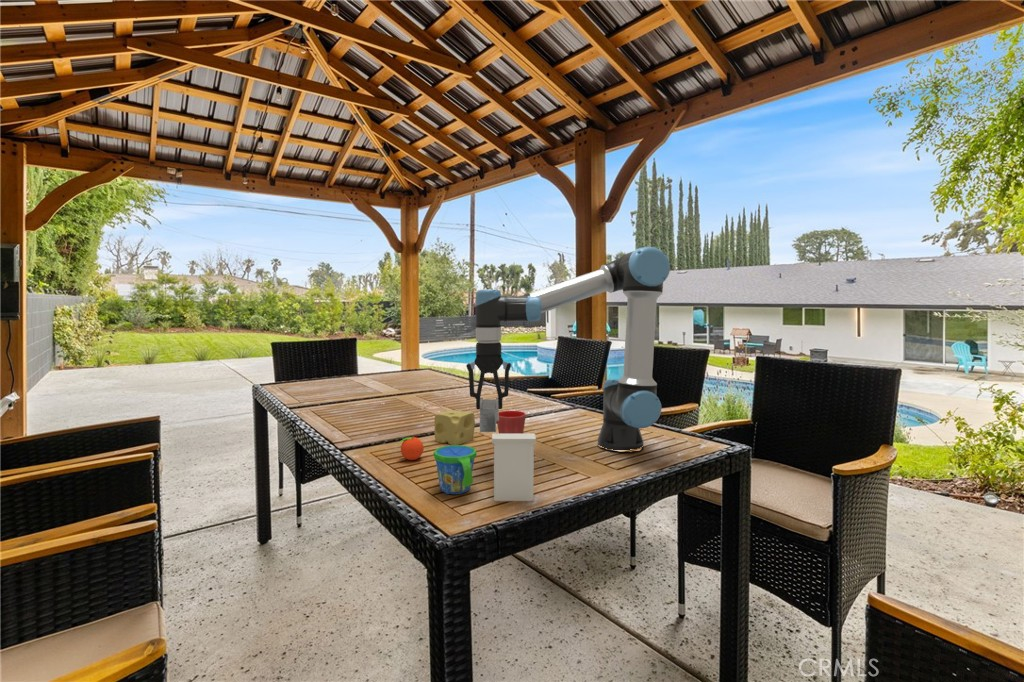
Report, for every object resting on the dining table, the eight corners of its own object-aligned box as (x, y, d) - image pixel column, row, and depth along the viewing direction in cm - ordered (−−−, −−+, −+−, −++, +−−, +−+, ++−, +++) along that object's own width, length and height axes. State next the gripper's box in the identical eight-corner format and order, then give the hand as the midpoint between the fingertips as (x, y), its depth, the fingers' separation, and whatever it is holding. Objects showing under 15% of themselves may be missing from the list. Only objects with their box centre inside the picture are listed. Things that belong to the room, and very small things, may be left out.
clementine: (398, 464, 138) (398, 441, 138) (395, 458, 145) (395, 435, 144) (425, 461, 141) (425, 438, 141) (421, 455, 148) (421, 433, 147)
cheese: (456, 446, 158) (456, 417, 157) (432, 441, 164) (432, 413, 163) (475, 439, 167) (475, 412, 166) (452, 435, 173) (452, 408, 172)
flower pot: (492, 444, 161) (492, 416, 160) (499, 435, 172) (499, 409, 171) (523, 445, 159) (523, 417, 159) (527, 437, 170) (527, 410, 170)
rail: (497, 418, 143) (496, 399, 142) (496, 431, 127) (495, 410, 127) (482, 418, 143) (482, 399, 142) (479, 432, 127) (479, 410, 126)
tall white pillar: (532, 483, 124) (532, 426, 123) (535, 501, 111) (535, 438, 110) (493, 483, 124) (493, 426, 123) (491, 501, 111) (492, 438, 110)
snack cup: (485, 497, 114) (485, 456, 113) (443, 504, 109) (443, 462, 109) (464, 477, 128) (464, 440, 127) (427, 483, 124) (426, 445, 123)
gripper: (517, 340, 142) (517, 416, 144) (460, 341, 142) (462, 417, 143) (517, 342, 135) (518, 422, 136) (458, 342, 135) (459, 423, 136)
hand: (489, 419), depth 140 cm, fingers closed on rail, 4 cm apart
